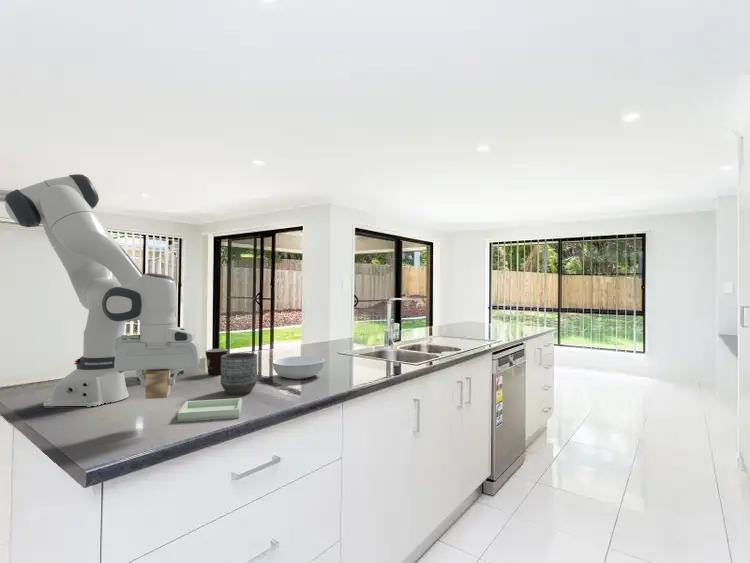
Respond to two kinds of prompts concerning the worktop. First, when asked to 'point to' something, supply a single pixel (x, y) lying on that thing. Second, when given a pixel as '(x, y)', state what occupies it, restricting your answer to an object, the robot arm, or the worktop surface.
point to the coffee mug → (214, 361)
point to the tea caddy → (157, 383)
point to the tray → (210, 409)
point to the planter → (238, 373)
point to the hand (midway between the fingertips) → (158, 385)
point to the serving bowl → (298, 366)
